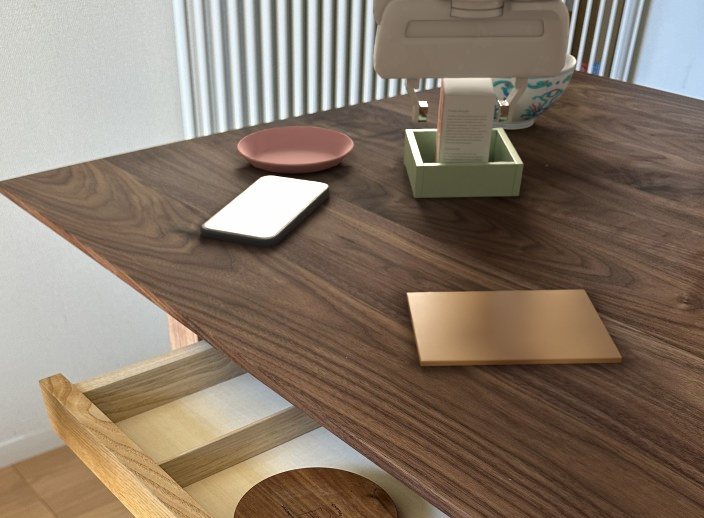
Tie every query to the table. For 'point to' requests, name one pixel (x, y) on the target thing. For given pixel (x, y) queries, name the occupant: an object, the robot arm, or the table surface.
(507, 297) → the gold metal mat
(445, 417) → the table surface
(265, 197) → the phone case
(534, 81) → the chinaware
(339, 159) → the plate
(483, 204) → the table surface
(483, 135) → the small box
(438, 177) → the open bin
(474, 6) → the robot arm
